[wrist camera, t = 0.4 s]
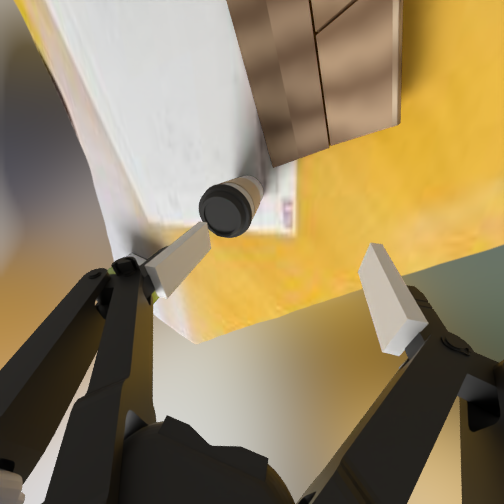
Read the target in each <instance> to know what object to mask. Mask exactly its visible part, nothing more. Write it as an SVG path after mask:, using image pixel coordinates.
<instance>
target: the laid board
mask: <svg viewBox="0 0 504 504" xmlns="http://www.w3.org/2000/svg"><path fill="white" fill-rule="evenodd" d="M226 1H227V4H228V8H229V11H230V15H231V19H232V22H233V26H234V29H235V33H236V37H237V40H238V44H239V47H240V51H241V55H242V58H243V62H244V65H245V69H246V72H247V76H248V80H249V83H250V87H251V90H252V94H253V98H254V101H255V105H256V108H257V112H258V116H259V119H260V123H261V126H262V130H263V133H264V137H265V141H266V144H267V148H268V151H269V155H270V159H271V162H272V166H273V168H274V167H277V166H280V165H283V164H285V163H288V162H291V161H294V160H296V159H299V158H302V157H305V156H308V155H310V154H313V153H316V152H319V151H322V150H324V149H327V148H329V144H328V137H327V129H326V122H325V115H324V108H323V101H322V93H321V86H320V79H319V72H318V65H317V57H316V50H315V43H314V36H313V29H312V21H311V14H310V7H309V0H226Z"/></svg>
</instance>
